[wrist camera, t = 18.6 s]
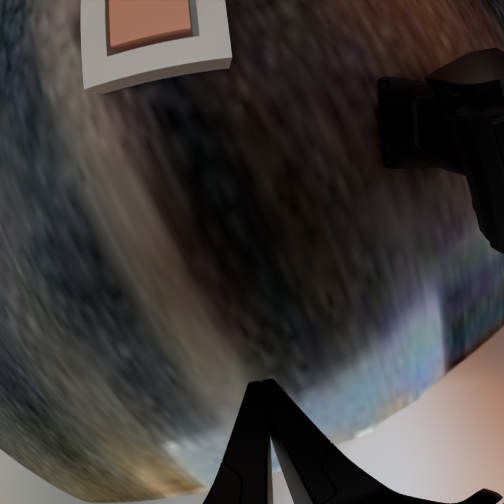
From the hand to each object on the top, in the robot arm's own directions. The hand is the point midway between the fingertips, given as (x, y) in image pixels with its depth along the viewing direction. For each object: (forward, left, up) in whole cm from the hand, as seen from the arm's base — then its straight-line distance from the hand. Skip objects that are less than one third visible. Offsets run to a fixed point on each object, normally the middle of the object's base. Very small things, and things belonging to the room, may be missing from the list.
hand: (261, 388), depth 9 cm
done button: (+3, -16, -11) cm, 19 cm away
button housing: (+3, -16, -12) cm, 20 cm away
